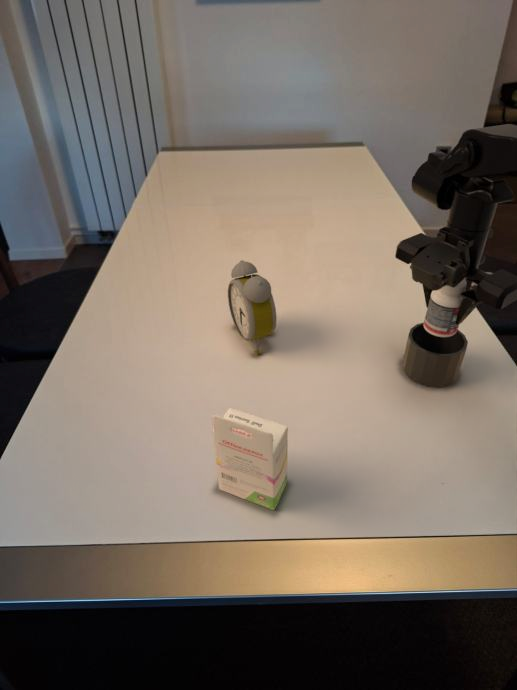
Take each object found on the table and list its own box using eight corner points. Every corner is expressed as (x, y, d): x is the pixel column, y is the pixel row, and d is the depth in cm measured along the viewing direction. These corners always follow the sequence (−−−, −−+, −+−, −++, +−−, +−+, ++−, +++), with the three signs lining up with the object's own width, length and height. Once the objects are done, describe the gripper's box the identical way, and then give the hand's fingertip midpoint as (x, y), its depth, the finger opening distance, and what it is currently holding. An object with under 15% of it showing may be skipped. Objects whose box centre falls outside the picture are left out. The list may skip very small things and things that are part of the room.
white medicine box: (288, 483, 69) (291, 408, 60) (274, 512, 65) (275, 436, 56) (233, 463, 72) (227, 388, 63) (216, 489, 68) (208, 414, 59)
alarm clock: (228, 326, 99) (224, 259, 89) (260, 318, 101) (258, 251, 91) (251, 360, 90) (249, 289, 81) (285, 350, 92) (286, 280, 83)
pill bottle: (452, 342, 77) (466, 293, 71) (418, 331, 79) (430, 284, 73) (460, 324, 80) (475, 277, 75) (428, 315, 82) (440, 268, 77)
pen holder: (460, 360, 89) (470, 329, 85) (453, 393, 82) (463, 361, 78) (408, 347, 92) (415, 317, 88) (397, 378, 86) (403, 346, 81)
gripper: (377, 215, 71) (364, 305, 80) (493, 267, 59) (461, 366, 69) (429, 196, 76) (410, 284, 85) (545, 241, 64) (508, 337, 74)
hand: (443, 315), depth 78 cm, fingers closed on pill bottle, 5 cm apart
